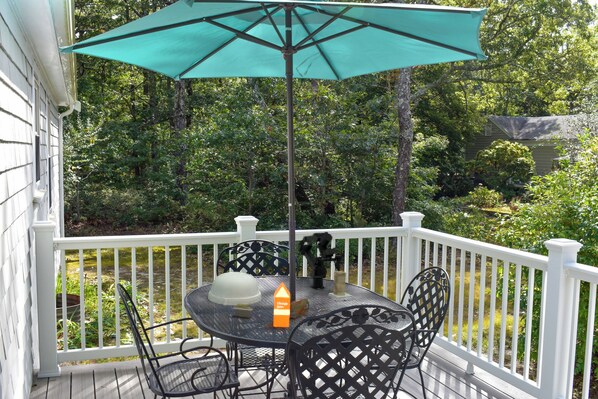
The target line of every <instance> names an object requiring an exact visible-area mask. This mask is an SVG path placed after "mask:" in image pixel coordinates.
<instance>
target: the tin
mask: <svg viewBox="0 0 598 399" xmlns="http://www.w3.org/2000/svg"><path fill="white" fill-rule="evenodd" d="M309 309H310V303H309V301H308V299H306V298H299V299H297V300H293V301H290V315H289V318H293V319H297V318H296V317H298V316H301V315H303V316H305V315H304V314H306V313H308V312H309ZM306 315H307V314H306ZM301 317H302V316H301ZM298 318H299V317H298Z"/></svg>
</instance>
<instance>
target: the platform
mask: <svg viewBox="0 0 598 399" xmlns="http://www.w3.org/2000/svg"><path fill="white" fill-rule="evenodd" d="M232 308H233V310H235V313H234V314H235V317H238V316H239V317H241V318H249V319H250V318H251V312H252V311H253V310H254V309H253V307H251V306H249V304H246V305H245V304H243V305H239V304H237V305H234V306H233V307H232Z"/></svg>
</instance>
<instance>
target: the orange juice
mask: <svg viewBox="0 0 598 399" xmlns="http://www.w3.org/2000/svg"><path fill="white" fill-rule="evenodd" d="M273 298H274V299H273V300H274V302H273V327H275V328H280V327H281V328H290V316H289V315H290V303H291V292H290V291H289V290H288V288H287V286H286V285H285V284H284V282H281V283H280V285H279V286H278V288H277V289H276V290H275V291H274V294H273Z"/></svg>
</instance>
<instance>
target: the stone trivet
mask: <svg viewBox="0 0 598 399" xmlns="http://www.w3.org/2000/svg"><path fill="white" fill-rule="evenodd" d="M328 296H331V297H333V298H336V299H341V298H346V297H352V296H353V295H351V294H350V293H347V292H345V295H339V296H337V295H335V294H333V292H329V293H328Z"/></svg>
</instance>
